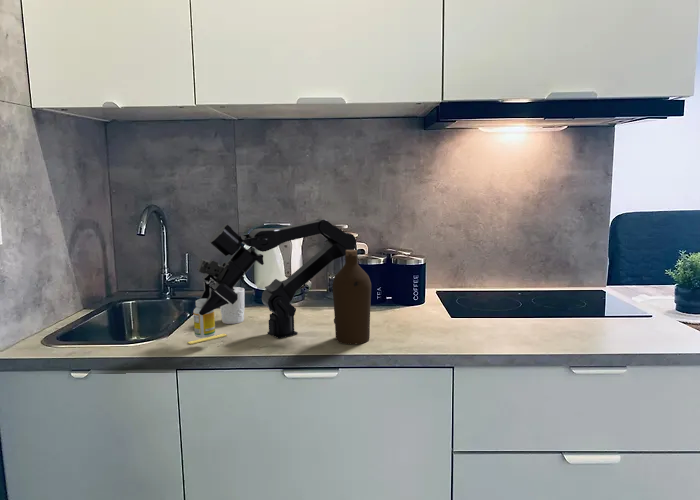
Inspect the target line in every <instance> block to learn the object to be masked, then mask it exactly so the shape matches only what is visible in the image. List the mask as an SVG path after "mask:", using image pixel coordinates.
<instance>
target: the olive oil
mask: <svg viewBox="0 0 700 500" xmlns="http://www.w3.org/2000/svg"><path fill="white" fill-rule="evenodd" d="M344 258H345V259H344V260H345V261H344V262H345V264H344V265H343V266H342V268H341V269H340V270H338V271H337V273H336V274H335V275H334V277H333V280H332V281H333V282H332V298H333V299H332V300H333V312H334V313H333V315H334V319H333V324H334V328H335V341H336V342H338V343H340V344H344V345H353V346H354V345H361V344H365V343H367V342H369V340H370V337H371V336H370V335H371V334H370V333H371V332H370V331H371V330H370V328H371V326H370V325H371V306H372V305H371V303H372V302H371V300H372V282H371V279H370V276H369V274H368V273H367V272H366V271H365V270H364V269H363V268H362V267H361V266H360V265H359V263H358V262H359V261H358V260H359V257H358V250H357V249H354V250H346V255H345V256H344Z"/></svg>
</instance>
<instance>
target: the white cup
mask: <svg viewBox="0 0 700 500" xmlns="http://www.w3.org/2000/svg"><path fill="white" fill-rule="evenodd" d="M233 289H235V290H234V292H235V293H237V296H238V299H237V300H236V302H235V303H234V304H231V303H230V302H229V301H228V300H227V301H228V302H229V303H228V304H225V305H223V306H221V307H219V308H220V310H219V311H220V314H221V322H222V323H223V324H227V325H233V324H240V323H243V322H244V321H245V288H244V287H239V286H238V287H237V286H234V287H233Z"/></svg>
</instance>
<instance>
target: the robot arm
mask: <svg viewBox="0 0 700 500" xmlns="http://www.w3.org/2000/svg"><path fill="white" fill-rule="evenodd" d="M316 235H321V236H322V237H323V238H324V239H325V240H326V241H325V243H324V245H323V247H322V249H321V250H319V251H318V252H317V253H316V254H314V256H312V257H311V258H310V259H308V260H307V261H306V262H305V263H304V264H303V265H302V266H300V267H299V268H298V269H297V270H296V271H294V272H293V273H292V274H291V275H290V276H289V277H287V278H286V279H283V280H279V279H277V278H275V279H274V280H272V282H270V284H269V285H267V286H264V291H262V294H261V302H262V304H263V305H264V306H265V307H267V308H268V311H269V312H271V313H270V314H269V319H268V331H267V335H269V336H271V337H274V338H276V339H279V340H280V339H283V338H287V337H291V336H295V335H296V336H297V335H298V334H299V333H298V331H296V330H295V315H296V311H297V308H296V307H295V306H294V305H292V304H291V302H292V301H293V299H294V297H295V296H296V293H297V291H299V290H300V289H301V288H302V287H304V286H305V285H306V284H307V283H308V282H309V281H311V280H312V279H313V278H314V277H315V276H317V275H318V274H319V273H320V272H321V271H323V269H325V268H326V267H327V266H328V265H329V264H330V263H332V262H333V261H335V260H338V259H341V258H343V257H345V255H346V250H356V248H357V238H356V236H355V235H354V234H352V233H349V232H346V231H343V230H342V229H340V228H338V227H337V226H335V225H334V224H332V223H331V222H329V220H328V219H323V218H317V219H314V220H311V221H306V222H302V223H297V224H292V225H288V226H284V227H280V228H279V227H274V228H273V227H271V228H270V227H267V228H260V227H259V228H255V229H252V230H251V231H250V232H249V233H245V234H242V235H239V234H238V233H237V232H235V230H233V228H232V227H231V226H230V224H224V225H223V226H222V227H220V228H219V229H218V230H217V231H214V233H213V234H212V235H211V236H210V238H209V239H208V244H209V245H211V246H212V247H214V249H216V250H217V251H218V252H219V253H220V254H222V255H223V256H224V257H227V256H228V255H229V256H231V257H230V258H229V260H227V261H223V262H222V263H221V264H219V263H218V261H215V260H213V259H211V260H207V259H205V258H201V259H200V260H199V263H198V266H197V267H196V270H197V271H198V272H199V273H201V274H204V275H203V276H202V278H203V281H202V283H203V288H204V289H203V291H202V293H201V295H200V298H199V299H207V300H206V302H205V304H204V305H203V307H202V308H201V310H200V311H199V314H200V315H204V314H206V313H208V312H210V311H212V310H214V311H215V310H216V309H218V308H220V307H221V306H223V305H225V304H228V303H229V302H230V303H231V304H234V303H235V302H236V300H237V299H238V296H237V293H235V292H234V290H235V289H233V287H236V285H237V284H238V283H239V282H240V281H244V280H245V275H246V274H247V272H248V271H249V270H250V269H251V268H252V267H253V265H255V263H256V262H257V263H258V264H259V265H262V266H263V265H264V264H265V263H264V254H262V253H257V252H256V251H255V250H257V251H260V252H263V253H264V252H268V251H270V250H272V249H275V248H277V247H279V246H281V245H282V244H285V243H287V242H290V241H296V240H299V239H303V238H308V237H311V236H316ZM242 244H243V245H245V246H248V247H249V248H246V247H244V246H243V245H242ZM227 300H228V301H229V302H228V301H227ZM195 308H196V306H195ZM195 308H194V309H195Z"/></svg>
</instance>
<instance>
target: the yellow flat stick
mask: <svg viewBox="0 0 700 500" xmlns="http://www.w3.org/2000/svg"><path fill="white" fill-rule="evenodd" d="M227 336H228V335H227V334H226V333H221V334H217V335H216V334H215V335H213V336H211V337H206V338H199V339H195V340H191V341H188V342H187V344H189V345H190V346H191V345H196V344H199V343H203V342H207V341H211V340H212V341H213V340H216V339H219V338H225V337H227Z"/></svg>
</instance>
